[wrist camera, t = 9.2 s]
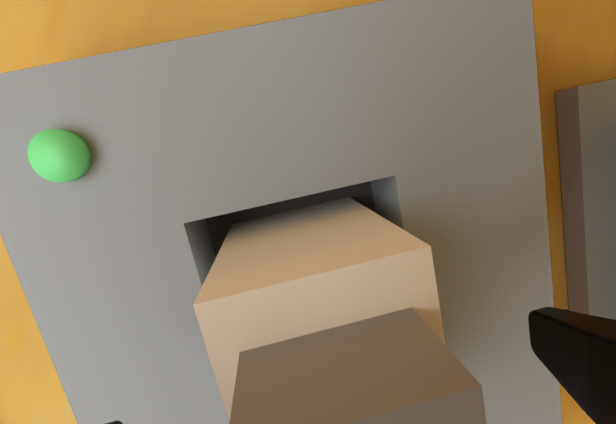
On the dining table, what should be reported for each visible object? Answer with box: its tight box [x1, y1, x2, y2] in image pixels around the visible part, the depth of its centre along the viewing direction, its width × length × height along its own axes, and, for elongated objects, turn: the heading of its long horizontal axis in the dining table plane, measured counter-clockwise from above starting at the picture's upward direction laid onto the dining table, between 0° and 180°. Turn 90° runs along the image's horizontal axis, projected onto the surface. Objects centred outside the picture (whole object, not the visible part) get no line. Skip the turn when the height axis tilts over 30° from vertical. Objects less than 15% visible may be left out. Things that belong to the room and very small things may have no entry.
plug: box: [193, 197, 487, 424], centre depth 8 cm, size 6×4×8 cm, turn 12°
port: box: [0, 0, 562, 424], centre depth 11 cm, size 16×14×4 cm
